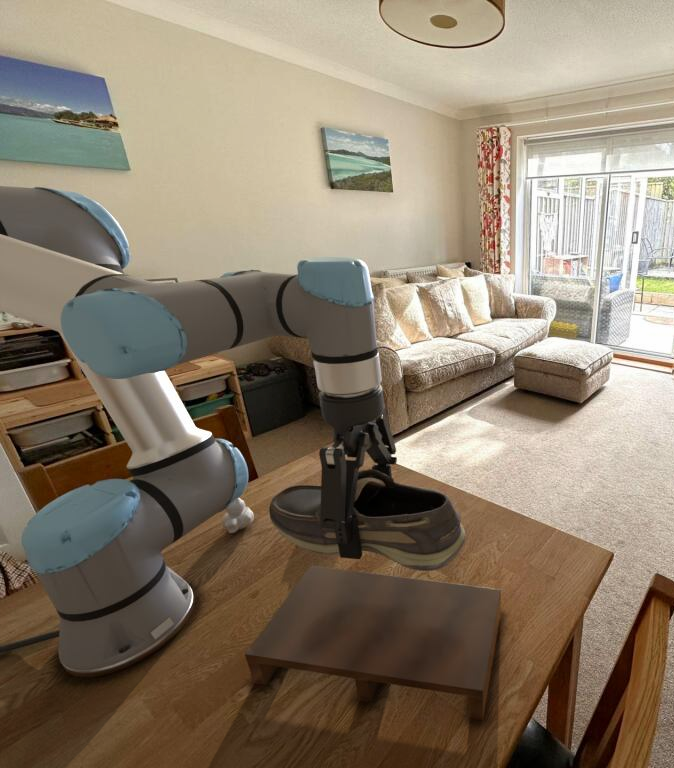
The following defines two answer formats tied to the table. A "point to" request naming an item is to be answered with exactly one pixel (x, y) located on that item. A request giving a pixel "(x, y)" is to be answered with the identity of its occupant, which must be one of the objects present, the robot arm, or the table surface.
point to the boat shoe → (377, 521)
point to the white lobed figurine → (237, 516)
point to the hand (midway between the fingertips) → (369, 526)
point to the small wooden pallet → (384, 633)
